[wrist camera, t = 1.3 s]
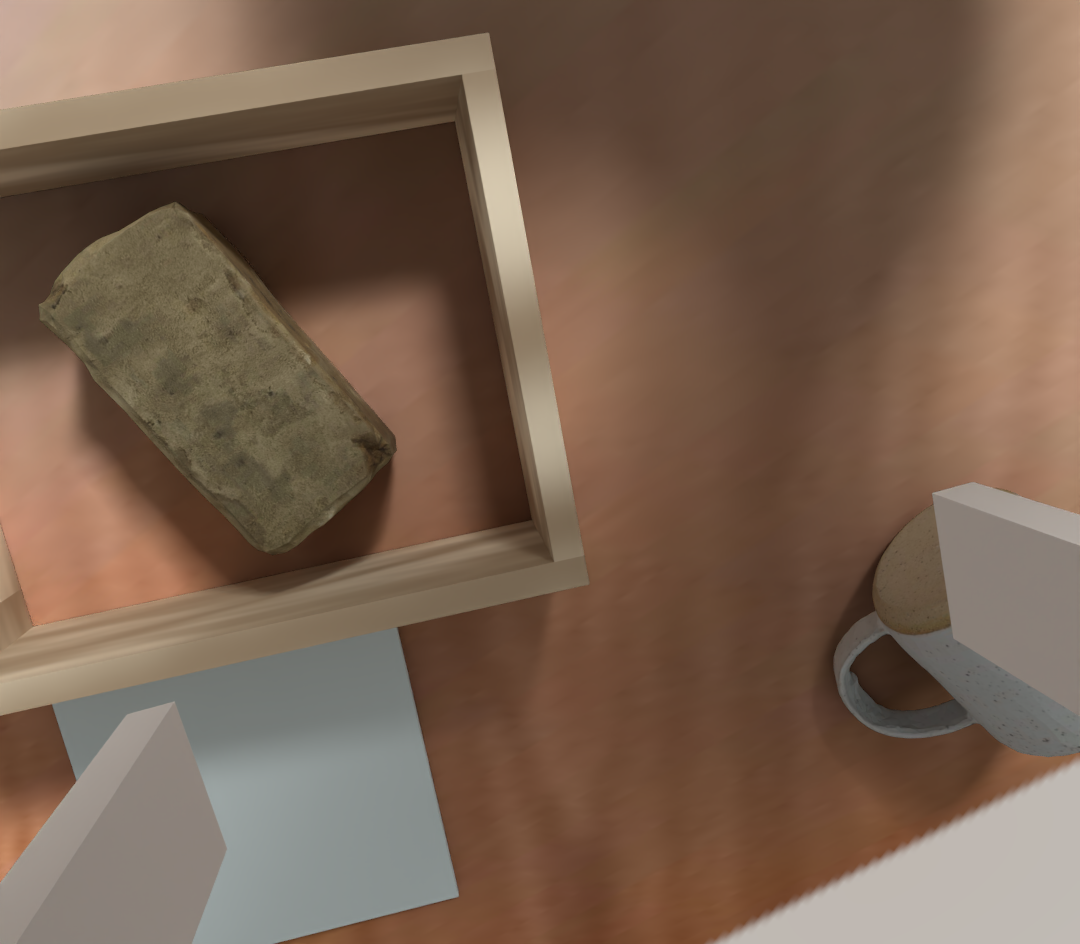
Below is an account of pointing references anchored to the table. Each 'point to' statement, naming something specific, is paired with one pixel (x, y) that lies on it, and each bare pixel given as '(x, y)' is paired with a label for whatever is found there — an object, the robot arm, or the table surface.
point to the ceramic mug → (944, 659)
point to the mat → (300, 785)
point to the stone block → (218, 375)
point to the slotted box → (553, 533)
